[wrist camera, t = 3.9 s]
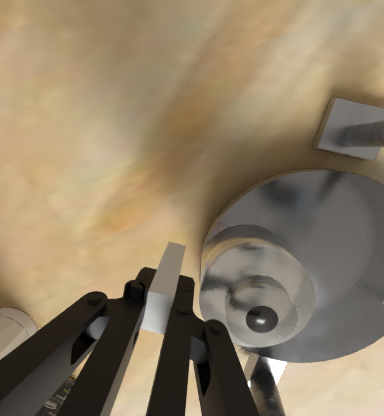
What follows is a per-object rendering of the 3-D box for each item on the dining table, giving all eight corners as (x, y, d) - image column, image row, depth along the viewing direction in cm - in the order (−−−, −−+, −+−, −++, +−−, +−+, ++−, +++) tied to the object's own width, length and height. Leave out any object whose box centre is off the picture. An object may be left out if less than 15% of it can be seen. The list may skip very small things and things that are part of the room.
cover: (212, 215, 19) (215, 249, 12) (302, 236, 19) (351, 281, 12) (192, 290, 21) (186, 352, 14) (272, 309, 21) (301, 380, 14)
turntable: (228, 145, 19) (242, 143, 12) (452, 197, 19) (601, 226, 12) (174, 356, 26) (161, 434, 19) (336, 394, 25) (385, 488, 18)
